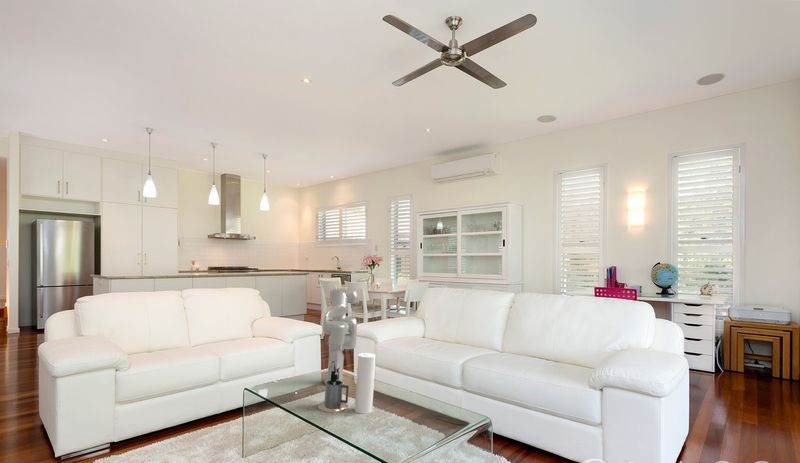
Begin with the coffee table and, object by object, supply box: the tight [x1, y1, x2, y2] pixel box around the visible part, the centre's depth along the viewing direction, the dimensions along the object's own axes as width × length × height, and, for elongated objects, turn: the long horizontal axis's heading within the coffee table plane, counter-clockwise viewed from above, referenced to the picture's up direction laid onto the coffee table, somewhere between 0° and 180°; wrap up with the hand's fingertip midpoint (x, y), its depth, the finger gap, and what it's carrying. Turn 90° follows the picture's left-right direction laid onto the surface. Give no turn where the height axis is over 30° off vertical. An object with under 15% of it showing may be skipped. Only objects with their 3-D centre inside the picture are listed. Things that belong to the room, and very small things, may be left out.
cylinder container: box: [354, 352, 377, 415], centre depth 228 cm, size 9×9×30 cm
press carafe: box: [317, 380, 350, 413], centre depth 230 cm, size 16×16×13 cm
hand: (334, 380), depth 230 cm, fingers open, 3 cm apart
